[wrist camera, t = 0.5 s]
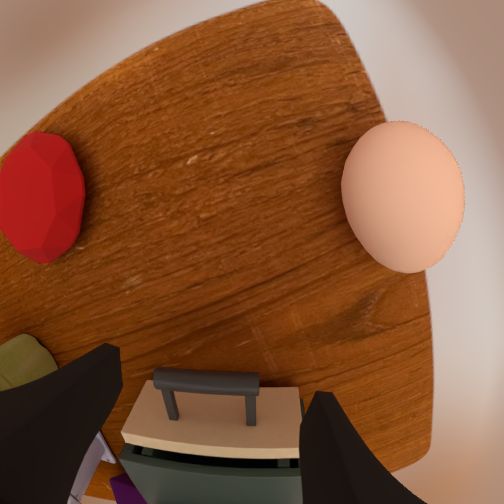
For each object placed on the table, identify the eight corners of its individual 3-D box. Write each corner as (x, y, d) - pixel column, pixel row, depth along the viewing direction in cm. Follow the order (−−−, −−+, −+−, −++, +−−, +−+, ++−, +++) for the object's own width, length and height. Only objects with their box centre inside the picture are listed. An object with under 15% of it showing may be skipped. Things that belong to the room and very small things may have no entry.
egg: (476, 111, 8) (485, 286, 11) (428, 120, 14) (443, 241, 17) (327, 127, 10) (357, 308, 13) (327, 133, 16) (350, 256, 19)
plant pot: (-5, 317, 21) (-57, 356, 13) (47, 315, 21) (-16, 368, 12) (31, 390, 24) (-7, 435, 16) (88, 399, 23) (49, 460, 15)
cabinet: (149, 391, 22) (117, 458, 15) (302, 398, 21) (312, 476, 14) (177, 472, 26) (163, 525, 18) (291, 479, 25) (293, 535, 18)
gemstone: (84, 272, 19) (60, 286, 16) (9, 236, 19) (-15, 244, 16) (108, 144, 17) (82, 141, 14) (24, 128, 16) (-2, 126, 13)
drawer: (135, 333, 19) (100, 384, 14) (302, 339, 19) (313, 400, 13) (175, 465, 24) (163, 508, 18) (288, 471, 23) (289, 518, 18)
